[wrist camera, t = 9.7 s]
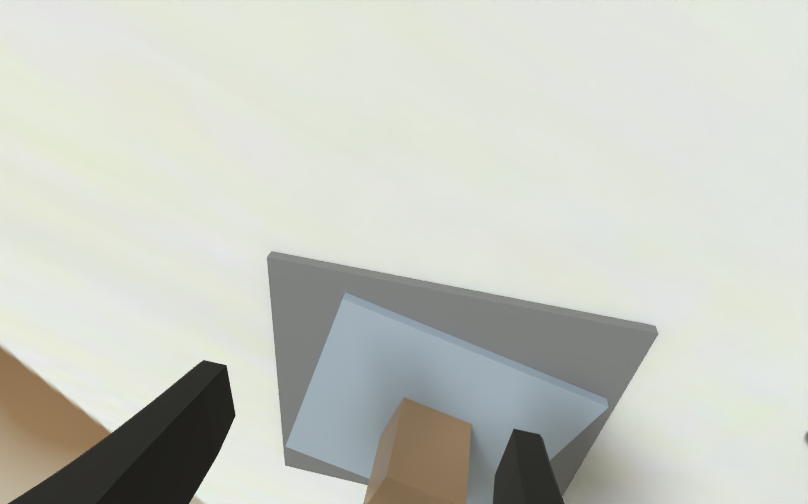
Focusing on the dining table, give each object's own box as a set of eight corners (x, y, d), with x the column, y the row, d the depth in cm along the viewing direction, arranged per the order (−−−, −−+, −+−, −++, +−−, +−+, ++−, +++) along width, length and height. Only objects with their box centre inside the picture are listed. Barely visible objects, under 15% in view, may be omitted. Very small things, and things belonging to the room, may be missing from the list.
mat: (655, 325, 20) (658, 333, 20) (542, 519, 30) (543, 527, 30) (271, 251, 22) (266, 257, 21) (287, 458, 32) (285, 465, 31)
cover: (606, 398, 22) (630, 498, 18) (482, 514, 30) (479, 602, 26) (345, 292, 22) (308, 371, 17) (288, 439, 30) (254, 517, 25)
